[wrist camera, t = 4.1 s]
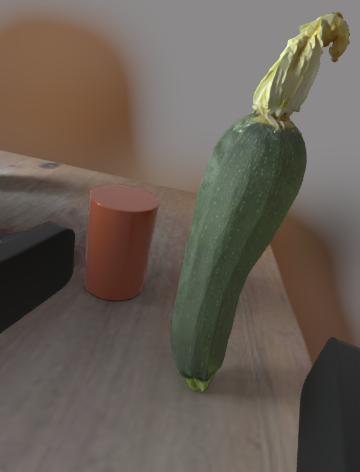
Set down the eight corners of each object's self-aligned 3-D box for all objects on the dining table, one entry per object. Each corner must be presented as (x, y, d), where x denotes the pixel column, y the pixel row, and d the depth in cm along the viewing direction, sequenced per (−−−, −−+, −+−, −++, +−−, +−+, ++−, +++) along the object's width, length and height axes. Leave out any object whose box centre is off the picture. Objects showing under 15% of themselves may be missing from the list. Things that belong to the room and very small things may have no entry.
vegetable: (143, 370, 20) (227, -18, 11) (181, 334, 23) (269, 15, 14) (201, 416, 18) (363, -9, 9) (233, 370, 21) (374, 27, 12)
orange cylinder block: (155, 283, 28) (172, 202, 24) (114, 310, 24) (126, 217, 20) (114, 258, 30) (123, 180, 27) (70, 278, 26) (74, 190, 23)
